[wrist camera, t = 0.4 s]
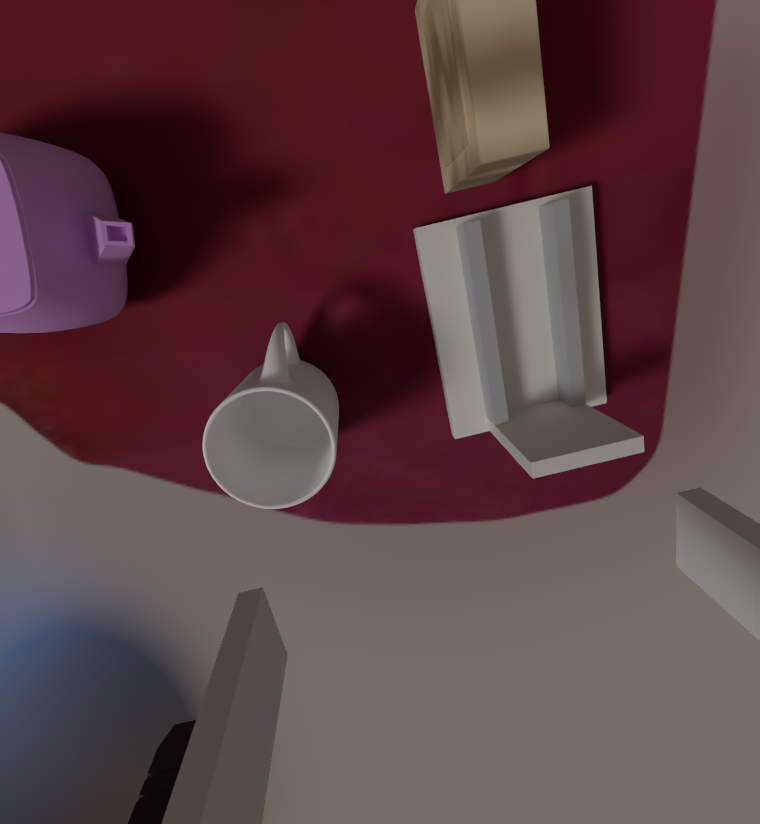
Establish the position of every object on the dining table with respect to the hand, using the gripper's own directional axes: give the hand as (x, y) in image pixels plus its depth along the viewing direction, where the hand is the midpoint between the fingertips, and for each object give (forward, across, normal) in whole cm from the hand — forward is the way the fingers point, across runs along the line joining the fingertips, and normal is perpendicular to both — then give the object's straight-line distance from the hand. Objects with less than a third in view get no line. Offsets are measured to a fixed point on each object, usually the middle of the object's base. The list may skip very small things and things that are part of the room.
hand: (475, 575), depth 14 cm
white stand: (+26, +11, +3) cm, 29 cm away
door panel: (+27, +9, +20) cm, 34 cm away
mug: (+27, -9, +1) cm, 28 cm away
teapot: (+27, -23, +16) cm, 39 cm away
